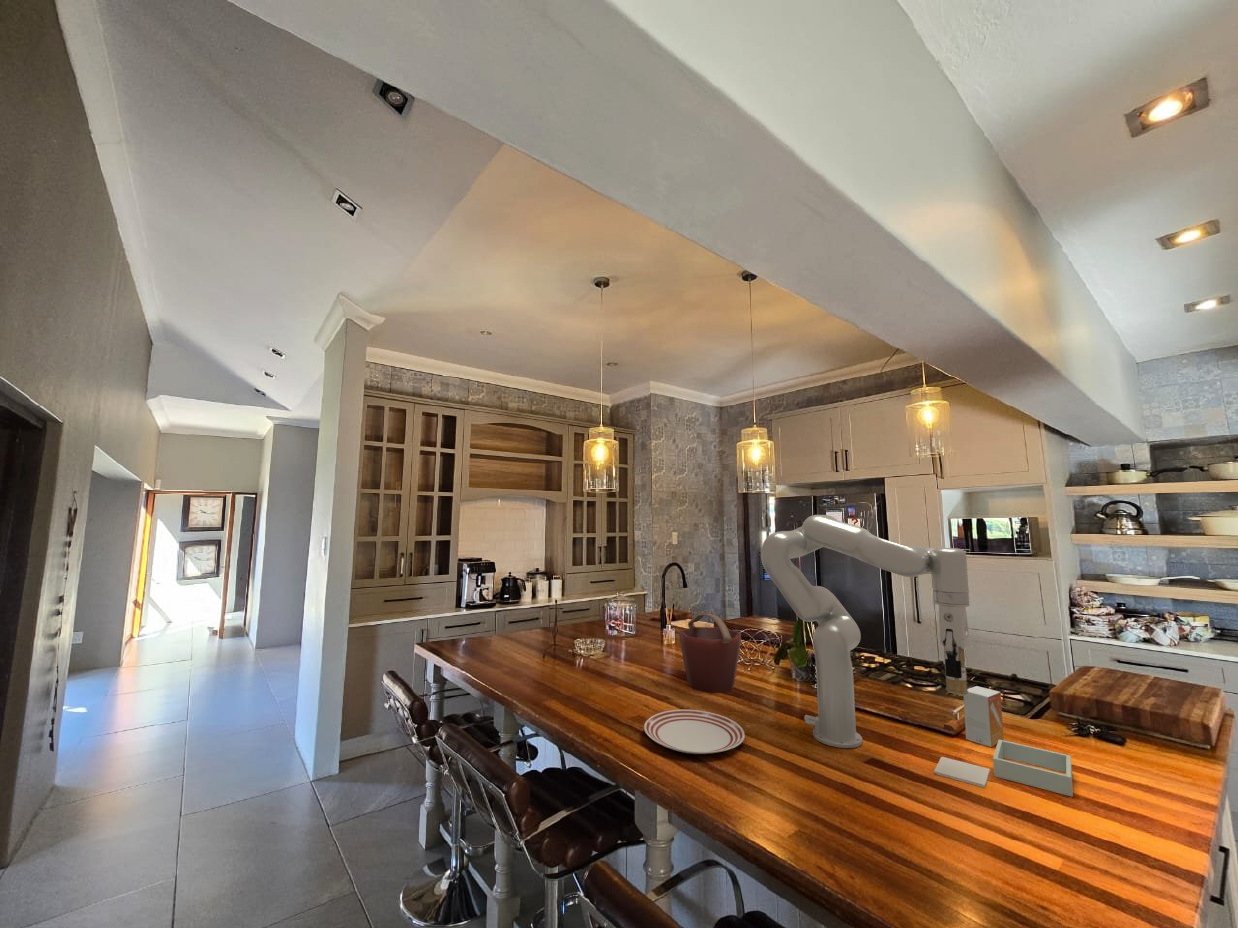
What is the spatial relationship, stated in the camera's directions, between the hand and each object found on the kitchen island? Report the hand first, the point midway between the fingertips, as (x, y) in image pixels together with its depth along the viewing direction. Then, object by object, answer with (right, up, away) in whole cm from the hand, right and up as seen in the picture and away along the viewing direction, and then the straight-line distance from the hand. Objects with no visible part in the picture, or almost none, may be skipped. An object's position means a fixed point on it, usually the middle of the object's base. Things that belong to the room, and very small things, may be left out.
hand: (955, 673), depth 126 cm
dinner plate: (-62, -25, +16) cm, 69 cm away
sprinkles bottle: (0, -5, -1) cm, 5 cm away
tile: (0, -23, -2) cm, 23 cm away
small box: (+19, -25, +16) cm, 35 cm away
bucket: (-48, -30, +62) cm, 84 cm away
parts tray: (+16, -23, -3) cm, 28 cm away
